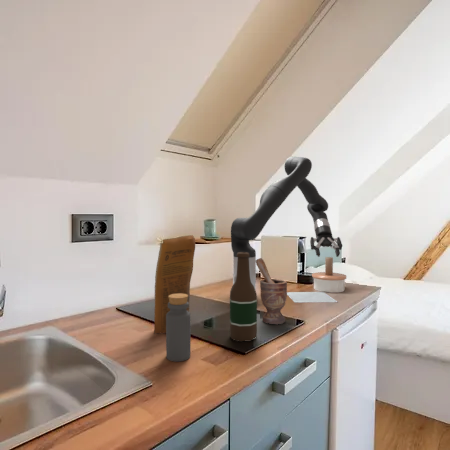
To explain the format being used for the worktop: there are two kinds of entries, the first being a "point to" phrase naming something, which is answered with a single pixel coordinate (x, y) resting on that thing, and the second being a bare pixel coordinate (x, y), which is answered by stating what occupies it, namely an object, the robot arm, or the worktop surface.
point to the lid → (329, 272)
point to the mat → (310, 297)
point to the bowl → (329, 285)
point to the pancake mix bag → (172, 275)
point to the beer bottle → (243, 302)
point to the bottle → (178, 328)
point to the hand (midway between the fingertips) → (328, 255)
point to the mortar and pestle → (272, 295)
